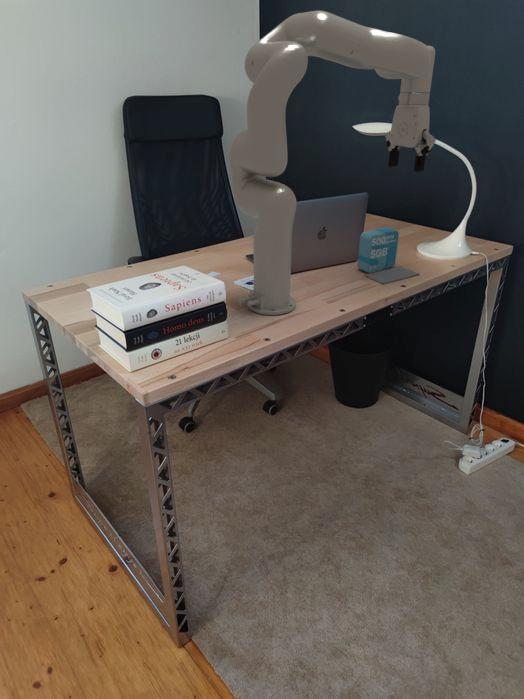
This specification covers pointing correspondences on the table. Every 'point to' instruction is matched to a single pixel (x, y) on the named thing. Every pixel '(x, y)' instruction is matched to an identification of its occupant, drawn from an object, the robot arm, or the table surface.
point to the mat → (391, 275)
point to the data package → (377, 249)
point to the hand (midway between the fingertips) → (405, 168)
